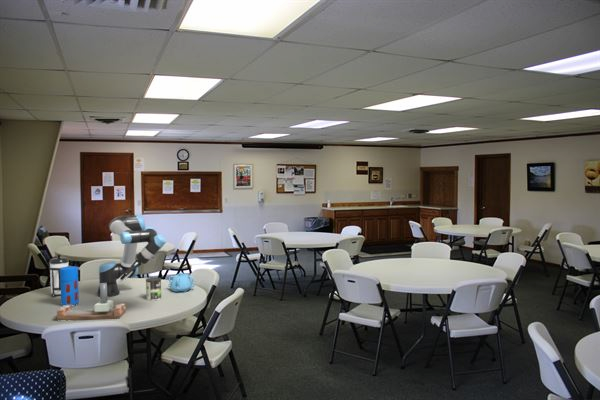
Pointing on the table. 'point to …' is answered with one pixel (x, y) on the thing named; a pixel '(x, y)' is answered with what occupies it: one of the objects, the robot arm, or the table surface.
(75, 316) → the rail board
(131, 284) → the table surface
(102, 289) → the carriage
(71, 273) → the thermos
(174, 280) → the decorative pot
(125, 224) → the robot arm
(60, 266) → the coffee press
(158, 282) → the coffee can
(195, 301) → the table surface
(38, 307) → the table surface
